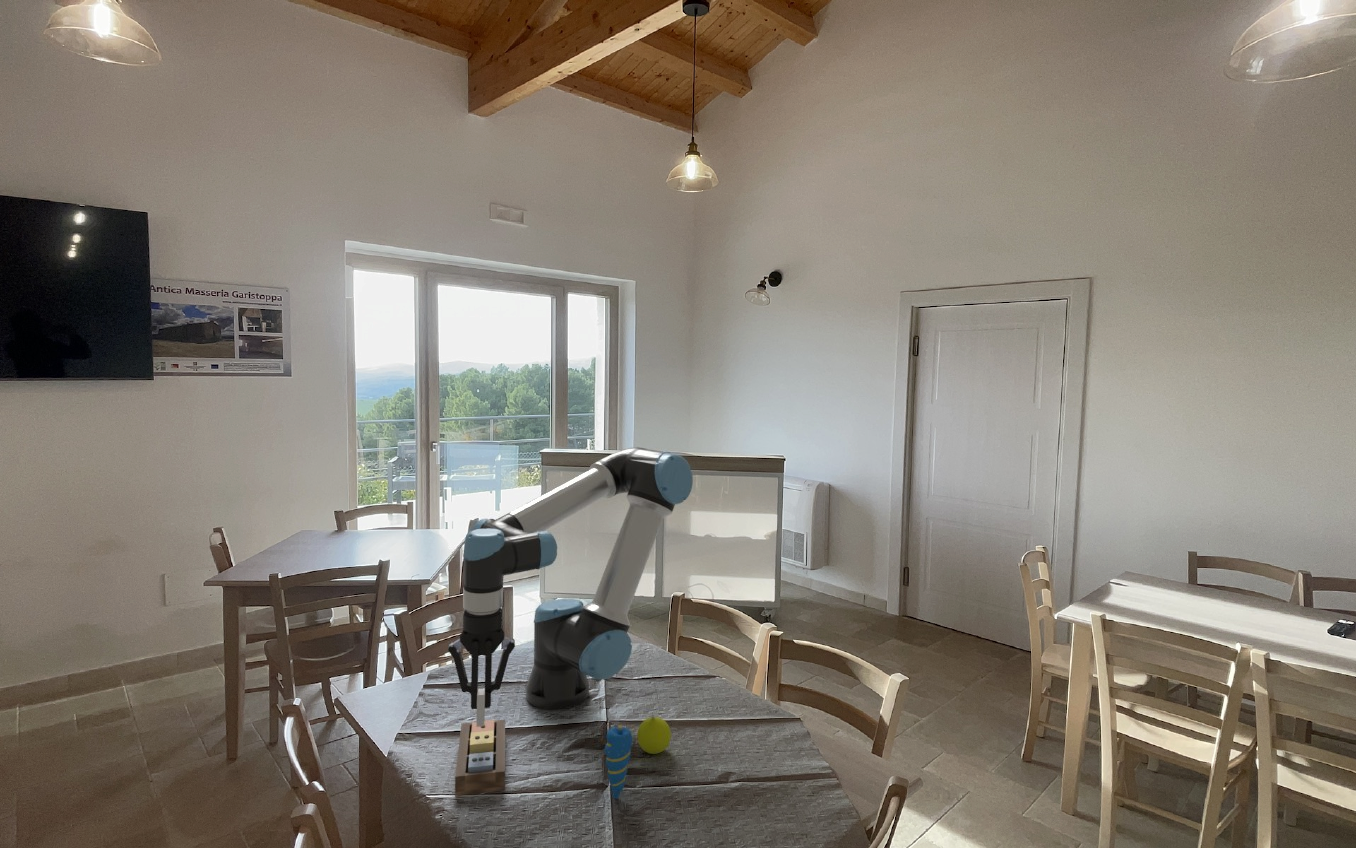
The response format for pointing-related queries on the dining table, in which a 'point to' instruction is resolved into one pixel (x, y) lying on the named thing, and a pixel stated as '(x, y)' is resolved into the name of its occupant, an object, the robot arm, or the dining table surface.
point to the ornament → (618, 757)
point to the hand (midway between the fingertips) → (480, 723)
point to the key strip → (484, 779)
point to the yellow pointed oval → (654, 735)
